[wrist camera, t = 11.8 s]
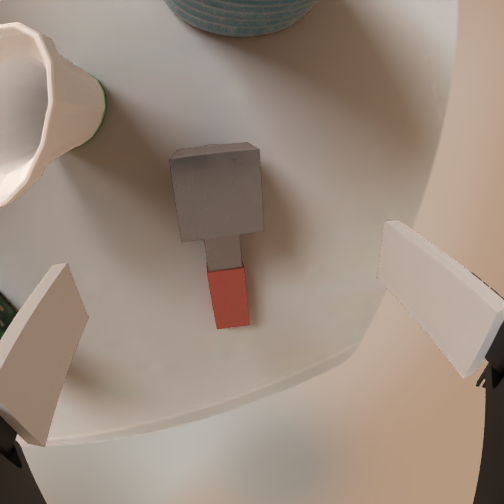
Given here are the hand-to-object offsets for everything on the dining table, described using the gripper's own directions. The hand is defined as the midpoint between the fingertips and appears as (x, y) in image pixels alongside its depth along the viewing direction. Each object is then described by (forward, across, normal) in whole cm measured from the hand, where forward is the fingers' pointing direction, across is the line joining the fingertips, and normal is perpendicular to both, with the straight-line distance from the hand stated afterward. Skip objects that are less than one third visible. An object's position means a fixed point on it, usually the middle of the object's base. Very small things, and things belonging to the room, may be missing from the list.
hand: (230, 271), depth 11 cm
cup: (+21, -14, +9) cm, 27 cm away
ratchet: (+20, 0, -8) cm, 22 cm away
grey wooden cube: (+17, 0, 0) cm, 17 cm away
